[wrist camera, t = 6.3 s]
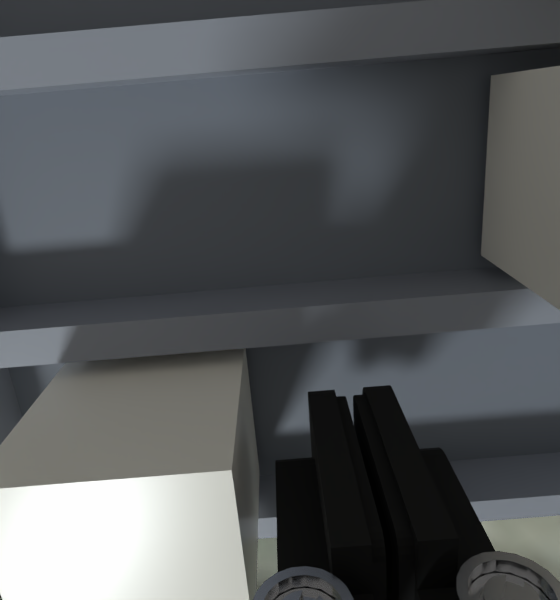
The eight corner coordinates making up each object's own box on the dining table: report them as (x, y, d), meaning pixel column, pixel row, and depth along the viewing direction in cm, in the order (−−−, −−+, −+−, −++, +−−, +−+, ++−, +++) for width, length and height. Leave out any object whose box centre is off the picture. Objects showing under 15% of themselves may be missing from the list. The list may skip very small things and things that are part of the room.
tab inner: (245, 341, 12) (231, 470, 8) (259, 470, 13) (254, 642, 9) (71, 355, 12) (-37, 491, 8) (102, 483, 13) (23, 660, 9)
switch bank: (854, -319, 10) (1123, -514, 7) (687, 424, 15) (790, 503, 12) (-225, -220, 10) (-446, -367, 7) (2, 479, 15) (-63, 570, 12)
